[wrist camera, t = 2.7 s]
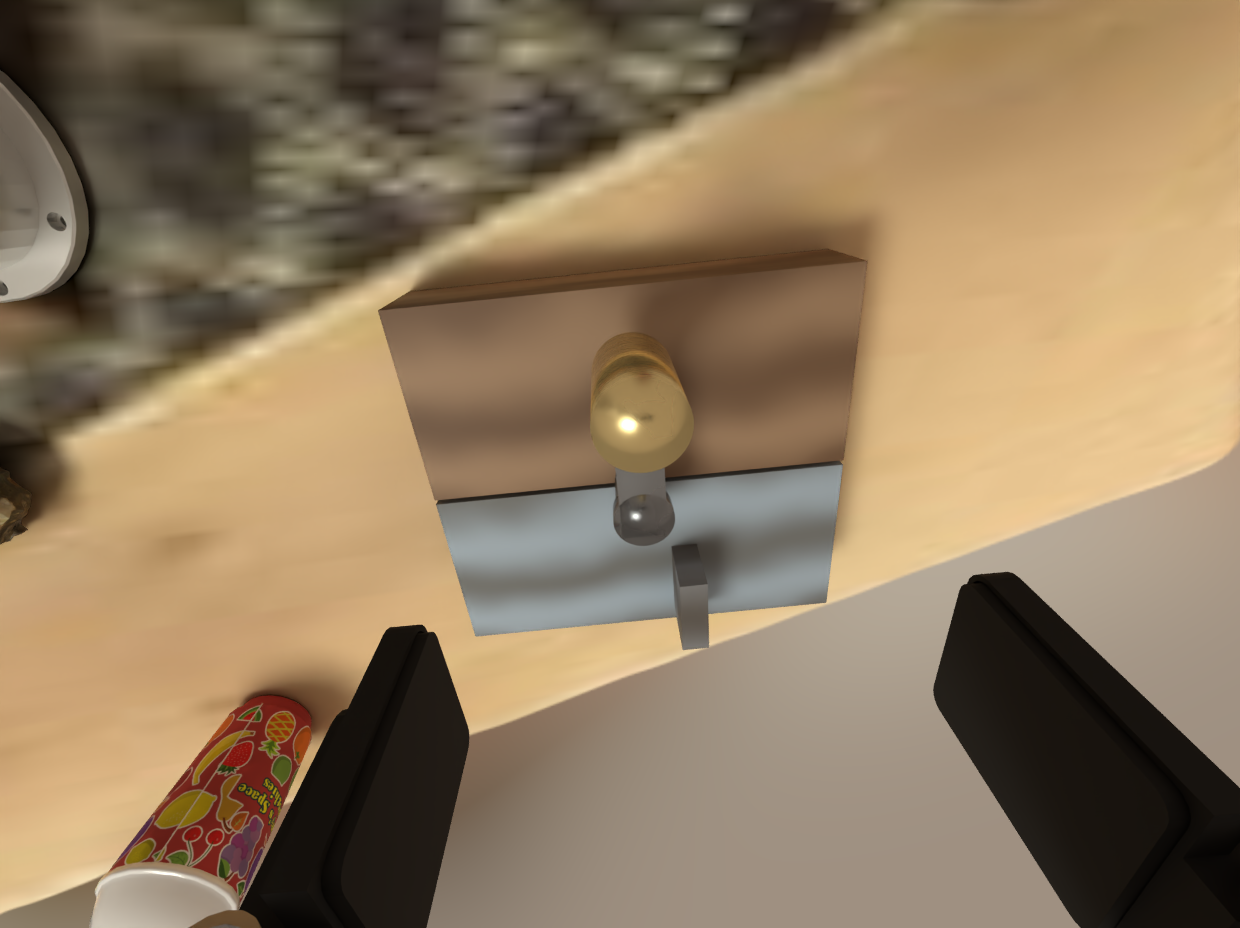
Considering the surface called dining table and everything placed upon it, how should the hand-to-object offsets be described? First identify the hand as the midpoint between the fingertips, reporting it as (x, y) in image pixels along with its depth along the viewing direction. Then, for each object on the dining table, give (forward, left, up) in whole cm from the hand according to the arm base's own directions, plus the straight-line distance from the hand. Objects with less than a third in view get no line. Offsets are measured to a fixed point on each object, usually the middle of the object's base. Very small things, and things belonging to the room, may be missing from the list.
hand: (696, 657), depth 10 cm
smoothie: (+31, -33, -26) cm, 52 cm away
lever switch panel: (+8, 0, -25) cm, 26 cm away
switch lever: (+4, 0, -17) cm, 18 cm away
